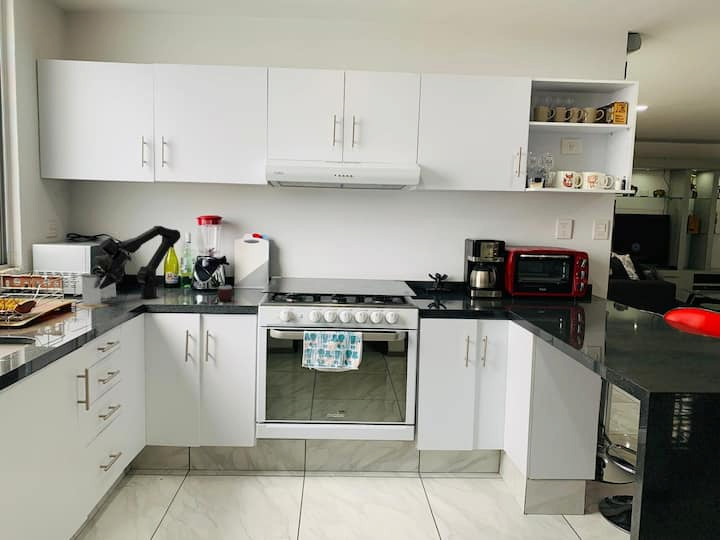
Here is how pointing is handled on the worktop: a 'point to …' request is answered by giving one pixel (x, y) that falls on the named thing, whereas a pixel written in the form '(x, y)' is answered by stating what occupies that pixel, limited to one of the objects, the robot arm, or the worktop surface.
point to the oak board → (90, 306)
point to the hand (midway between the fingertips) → (94, 287)
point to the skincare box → (108, 290)
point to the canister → (91, 289)
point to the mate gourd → (224, 292)
